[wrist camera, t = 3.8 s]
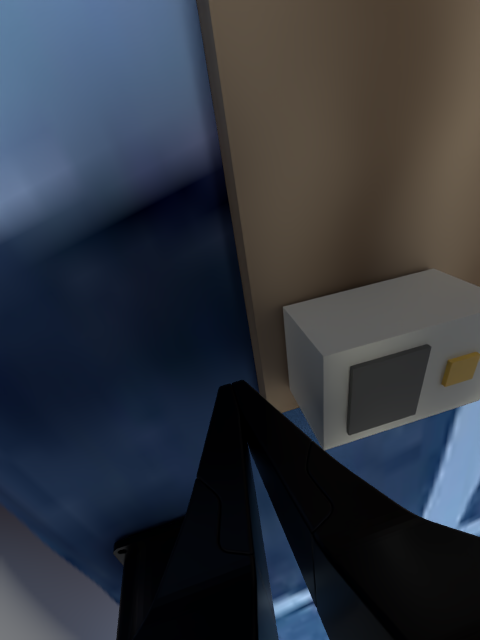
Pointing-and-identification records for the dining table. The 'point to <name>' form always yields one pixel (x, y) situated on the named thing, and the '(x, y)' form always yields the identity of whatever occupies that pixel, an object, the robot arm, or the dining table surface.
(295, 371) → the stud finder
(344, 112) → the board
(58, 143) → the dining table surface
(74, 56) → the dining table surface
